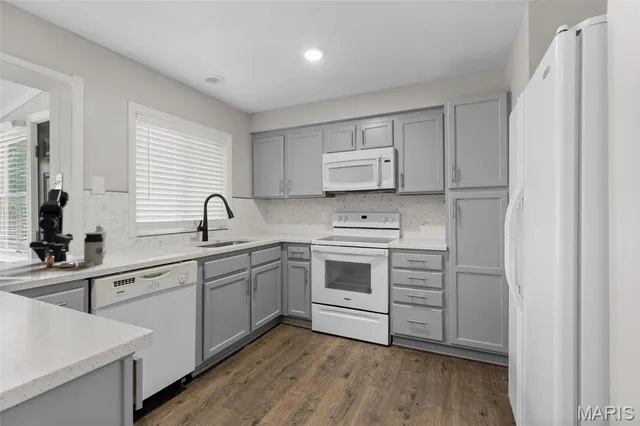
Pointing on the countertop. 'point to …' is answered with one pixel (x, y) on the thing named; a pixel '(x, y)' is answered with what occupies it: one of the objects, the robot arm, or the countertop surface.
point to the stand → (80, 267)
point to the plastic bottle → (100, 229)
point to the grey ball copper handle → (63, 265)
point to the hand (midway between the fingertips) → (50, 260)
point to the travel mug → (93, 248)
